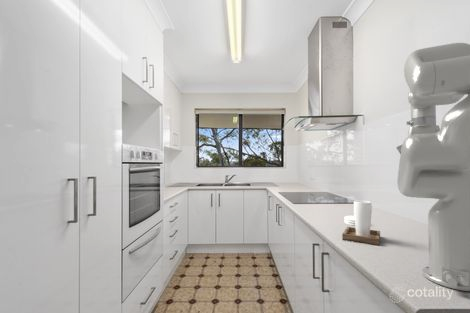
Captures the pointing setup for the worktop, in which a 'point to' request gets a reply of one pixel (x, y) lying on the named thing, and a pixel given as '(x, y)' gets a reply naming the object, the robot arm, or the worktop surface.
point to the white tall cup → (362, 217)
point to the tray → (351, 236)
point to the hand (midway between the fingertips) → (424, 168)
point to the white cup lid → (350, 220)
